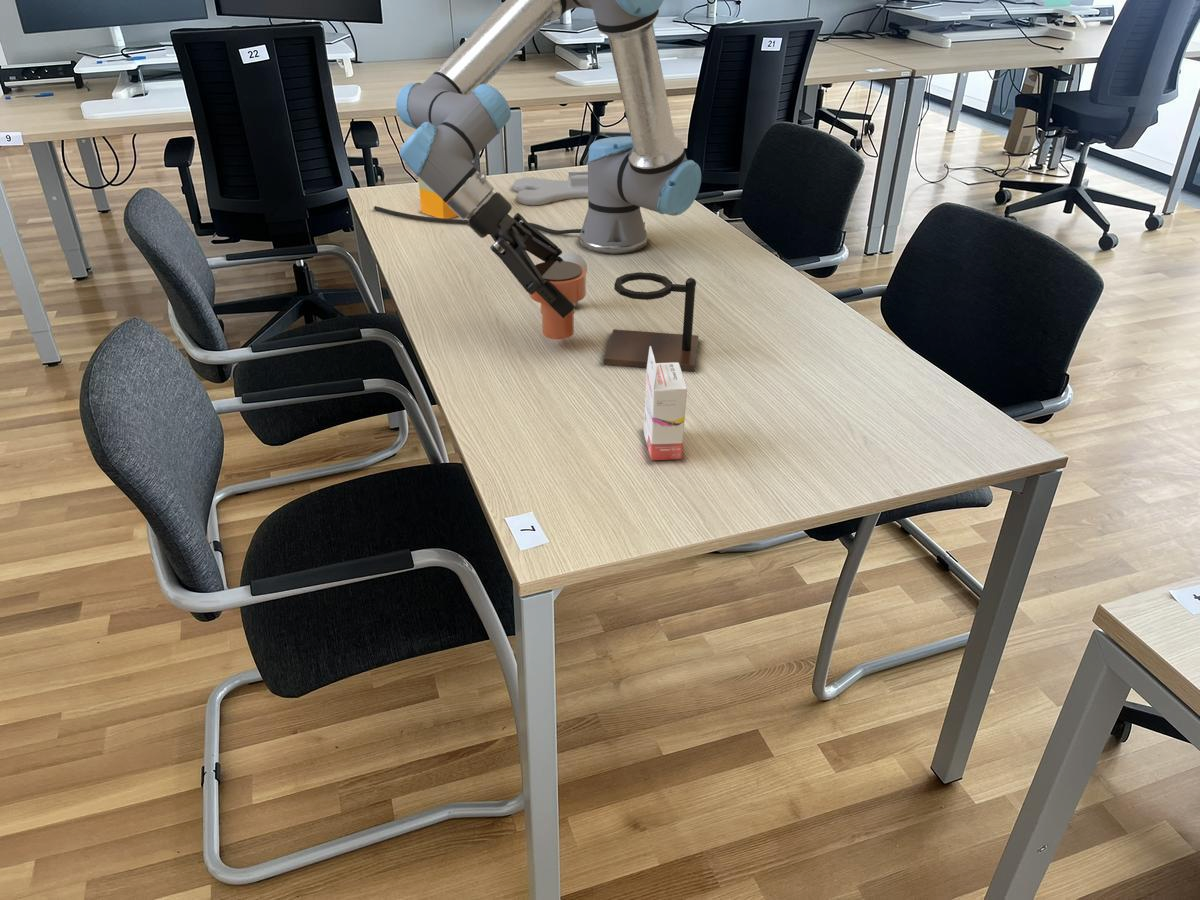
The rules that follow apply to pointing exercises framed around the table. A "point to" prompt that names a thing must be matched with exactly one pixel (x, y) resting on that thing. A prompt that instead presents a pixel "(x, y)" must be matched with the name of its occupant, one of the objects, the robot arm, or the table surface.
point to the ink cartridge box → (664, 409)
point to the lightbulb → (574, 261)
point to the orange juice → (434, 202)
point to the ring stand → (669, 287)
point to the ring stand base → (636, 344)
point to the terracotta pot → (571, 285)
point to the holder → (551, 189)
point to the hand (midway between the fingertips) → (574, 299)
